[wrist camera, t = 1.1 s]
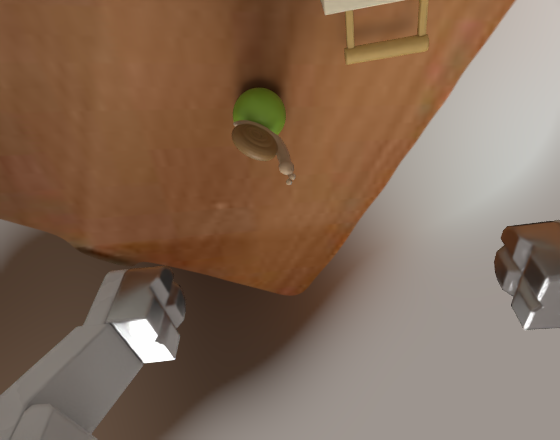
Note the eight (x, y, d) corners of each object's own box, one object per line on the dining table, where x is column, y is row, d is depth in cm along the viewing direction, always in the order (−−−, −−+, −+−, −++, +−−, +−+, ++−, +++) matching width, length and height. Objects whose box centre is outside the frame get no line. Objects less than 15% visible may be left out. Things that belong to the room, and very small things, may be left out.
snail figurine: (280, 136, 44) (280, 203, 36) (227, 114, 43) (214, 178, 34) (302, 96, 41) (308, 158, 32) (246, 70, 39) (237, 128, 30)
